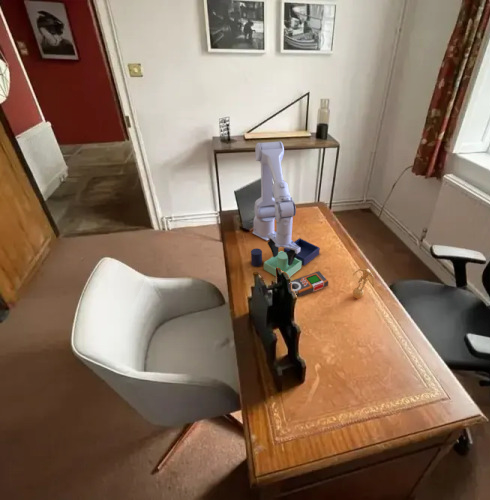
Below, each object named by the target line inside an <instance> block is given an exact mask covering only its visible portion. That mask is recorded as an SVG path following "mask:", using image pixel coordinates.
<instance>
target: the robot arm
mask: <svg viewBox="0 0 490 500" xmlns="http://www.w3.org/2000/svg"><path fill="white" fill-rule="evenodd" d="M284 147H285V146H284V143H283V142H282V140H279V141H268V142H267V141H266V142H256V144H255V148H254V149H255V161H256V162H259V163H260V195H261V196H260V197H259V198H258V199H256V200H255V202H254V207H253V208H254V209H253V210H254V217H253V219H252V220H253V221H252V222H253V224H252V225H253V227H252V228H253V231H252V234H254V235H255V236H257V237H258V238H260V239H263V240H264V241H267V245H268V247H269V249H270V251H271V254H272V257H276V256H277V255H278V252H279V249H280V248H283V249H284V248H288V249H290V250H289V251H288V252H287V253H286V254H287V257H288V265H289V266H290V265H291V264H293V261H294V258H295V256H296V255H297V254H298V253H299V252H300V247H299V246H297V245H296V244H295V243H294V242H295V241H294V240H293V239H292V236H293V235H292V234H293V221H294V220H293V218H294V217H295V216H296V214H297V208H296V203H295V200H294V199H293V197H291V193H290V189H289V184H288V182H286V181H285V180H284V175H283V169H282V161H283V158H284V155H285V148H284ZM275 221H276V222H275ZM275 223H276V229H275ZM275 230H276V231H275Z"/></svg>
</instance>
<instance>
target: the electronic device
mask: <svg viewBox="0 0 490 500" xmlns="http://www.w3.org/2000/svg"><path fill="white" fill-rule="evenodd" d="M290 283H292V289H293V291H295V293H296V294H295V295H297V296H298V297H303V296H305V295H307V294H310V293H313V292H317V291H319V290H322V289H324V288H326V287H328V286H329V280H328V279H327V278H326V277H325V276H324V275H323V274H322V273H321V271H319V270H318V271H314V272H312V273H310V274H307V275H303V276H300V277H298V278H295V279H294V280H290Z"/></svg>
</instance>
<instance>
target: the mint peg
mask: <svg viewBox="0 0 490 500" xmlns="http://www.w3.org/2000/svg"><path fill="white" fill-rule="evenodd" d="M277 267H278V268H280V269H281V270H282V271H286V270H288V257H287V254H286V253H279V254H278V256H277Z"/></svg>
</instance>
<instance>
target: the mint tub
mask: <svg viewBox="0 0 490 500" xmlns="http://www.w3.org/2000/svg"><path fill="white" fill-rule="evenodd" d="M279 253H285V252H284V250H280V251H278V254H279ZM277 256H278V255H277ZM277 256H276V257H273V256H271V257H269V258H268V259H266V260H265V261H264V262H263V270H264V271H266V272H267V273H269V274H271V275H272V276H275V277H276V268H277ZM302 266H303V265H302V261H300V260H298V259H296V258H294V261H293V264H291V265H290V266H289V265H288V270H286V271H284V272H286V273H287V274H288V275H289V278H291V277H292V276H293V275H295V274H296V273H297V272H298V271H299V270H301V269H302Z"/></svg>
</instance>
